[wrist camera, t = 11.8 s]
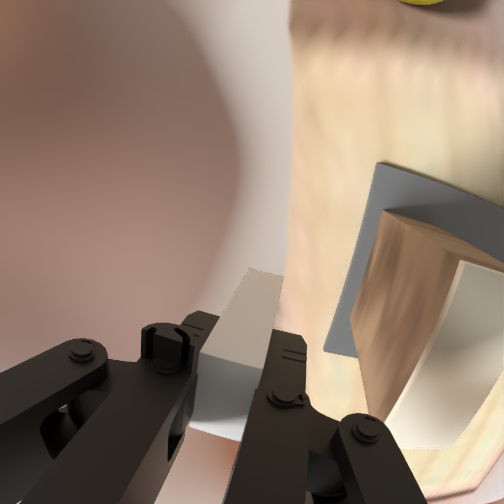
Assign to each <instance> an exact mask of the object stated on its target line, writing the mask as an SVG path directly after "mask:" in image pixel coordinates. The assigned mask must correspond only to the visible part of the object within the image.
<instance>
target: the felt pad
mask: <svg viewBox="0 0 504 504" xmlns="http://www.w3.org/2000/svg"><path fill="white" fill-rule="evenodd" d="M382 210H385V211H388V212H392V213H395V214H399V215H402V216H406V217H409V218H413V219H416V220H419V221H422V222H426V223H429V224H432V225H435V226H437V227H439V228H441V229H443V230H445V231H446V232H448V233H450V234H452V235H454V236H456V237H458V238H460V239H461V240H463V241H465V242H467V243H469V244H470V245H472V246H474V247H476V248H478V249H479V250H481V251H483V252H485V253H486V254H488V255H490V256H492V257H493V258H495V259H497V260H498V261H500V262H502V263H503V264H504V208H502V207H499V206H497V205H495V204H492V203H490V202H488V201H485V200H483V199H480V198H478V197H475V196H473V195H470V194H468V193H465V192H463V191H460V190H457V189H455V188H452V187H449V186H447V185H444V184H441V183H438V182H436V181H433V180H430V179H427V178H424V177H421V176H418V175H415V174H412V173H409V172H406V171H403V170H400V169H396V168H393V167H390V166H387V165H383V164H380V163H376V166H375V171H374V175H373V180H372V184H371V189H370V193H369V197H368V201H367V205H366V209H365V213H364V217H363V221H362V225H361V229H360V232H359V236H358V240H357V243H356V247H355V250H354V254H353V257H352V261H351V264H350V268H349V271H348V274H347V278H346V281H345V284H344V287H343V291H342V294H341V297H340V300H339V303H338V306H337V309H336V312H335V315H334V318H333V321H332V324H331V327H330V330H329V333H328V336H327V338H326V341H325V344H324V347H323V350H324V352H329V353H334V354H339V355H344V356H349V357H354V358H358V355H357V351H356V346H355V341H354V337H353V332H352V328H351V324H350V319H349V318H350V315H351V313H352V310H353V307H354V304H355V301H356V298H357V295H358V292H359V289H360V286H361V283H362V279H363V276H364V273H365V270H366V266H367V263H368V260H369V256H370V253H371V250H372V246H373V243H374V239H375V235H376V232H377V228H378V224H379V220H380V217H381V213H382Z"/></svg>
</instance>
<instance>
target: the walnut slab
mask: <svg viewBox="0 0 504 504" xmlns="http://www.w3.org/2000/svg"><path fill="white" fill-rule="evenodd" d="M349 319H350V324H351V328H352V332H353V337H354V341H355V346H356V351H357V355H358V360H359V365H360V370H361V375H362V380H363V385H364V390H365V396H366V401H367V407H368V413H369V415H371V416H373V417H376V418H378V419H379V420H381V421H382V422H383V423H385V425H386V426H387V427H388V428H389V430H390V431H391V433H392V435H393V437H394V439H395V441H396V443H397V445H398V447H399V448H400V449H450V448H451V447H452V445H453V444H454V443H455V442H456V440H457V439H458V438H459V436H460V435H461V434H462V432H463V431H464V430H465V428H466V427H467V426H468V424H469V423H470V421H471V420H472V419H473V417H474V416H475V414H476V413H477V411H478V410H479V408H480V407H481V405H482V404H483V402H484V401H485V399H486V398H487V396H488V395H489V393H490V391H491V390H492V388H493V386H494V385H495V383H496V381H497V380H498V378H499V376H500V375H501V373H502V371H503V369H504V264H503V263H502V262H500V261H498V260H497V259H495V258H493V257H492V256H490V255H488V254H486V253H485V252H483V251H481V250H479V249H478V248H476V247H474V246H472V245H470V244H469V243H467V242H465V241H463V240H461V239H460V238H458V237H456V236H454V235H452V234H450V233H448V232H446V231H445V230H443V229H441V228H439V227H437V226H435V225H432V224H429V223H426V222H422V221H419V220H416V219H413V218H409V217H406V216H402V215H399V214H395V213H392V212H388V211H385V210H382V213H381V217H380V220H379V224H378V228H377V232H376V235H375V239H374V243H373V246H372V250H371V253H370V256H369V260H368V263H367V266H366V270H365V273H364V276H363V279H362V283H361V286H360V289H359V292H358V295H357V298H356V301H355V304H354V307H353V310H352V313H351V315H350V318H349Z"/></svg>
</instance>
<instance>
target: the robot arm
mask: <svg viewBox="0 0 504 504" xmlns="http://www.w3.org/2000/svg"><path fill="white" fill-rule="evenodd" d="M283 279H284V276H279V275H275V274H271V273H267V272H262V271H258V270H254V269H250V268H249V269H248V270H247V272H246V274H245V275H244V277H243V279H242V281H241V282H240V284H239V286H238V287H237V289H236V291H235V292H234V294H233V296H232V298H231V299H230V301H229V303H228V304H227V306H226V308H225V310H224V311H223V313H222V315H221V316H216V315H213V314H209V313H205V312H202V311H196V312H194V313H192V314H189V315H188V316H187V317H186V318H185V319H184V321H183V322H182V324H180V326H179V325H176V324H171V323H154V324H150V325H147V326H146V327H144V328H142V331H141V357H140V359H139V360H138V361H137V362H125V361H119V360H112V359H108V355H107V351H106V348H105V347H104V346H103V345H101V343H98V342H96V341H94V340H90V339H85V338H79V339H72V340H69V341H66V342H64V343H62V344H60V345H58V346H55V347H53V348H51V349H49V350H47V351H45V352H43V353H41V354H39V355H37V356H35V357H33V358H31V359H28V360H26V361H24V362H22V363H20V364H18V365H16V366H14V367H12V368H10V369H8V370H6V371H4V372H1V373H0V504H17V503H18V502H19V501H21V500H22V499H23V500H22V501H21V502H20V503H19V504H154V502H155V500H156V498H157V496H158V494H159V492H160V490H161V488H162V485H163V483H164V481H165V479H166V477H167V475H168V473H169V471H170V469H171V467H172V464H173V462H174V460H175V458H176V456H177V454H178V452H179V450H180V448H181V445H182V443H183V441H184V436H185V428H186V426H187V424H188V422H189V420H190V418H191V420H190V427H192V428H195V429H198V430H201V431H204V432H208V433H211V434H215V435H219V436H222V437H225V438H229V439H233V440H237V441H240V445H239V448H238V451H237V455H236V458H235V461H234V464H233V468H232V472H231V475H230V478H229V482H228V485H227V489H226V492H225V495H224V498H223V502H222V504H428V503H427V501H426V499H425V497H424V495H423V493H422V491H421V489H420V487H419V485H418V483H417V481H416V480H415V478H414V476H413V474H412V472H411V470H410V468H409V466H408V464H407V462H406V460H405V458H404V456H403V454H402V452H401V450H400V448H399V447H398V445H397V443H396V441H395V439H394V437H393V435H392V433H391V431H390V430H389V428H388V427H387V426H386V425H385V423H383V422H382V421H381V420H379V419H378V418H376V417H373V416H371V415H368V414H362V413H355V414H350V415H347V416H346V417H344V418H343V419H342V420H341V422H340V421H337V420H335V419H332V418H330V417H327V416H325V415H323V414H321V413H319V412H318V411H317V410H315V409H314V408H313V407H312V406H311V403H310V399H309V396H308V395H307V394H306V393H305V389H306V361H307V356H306V355H307V344H306V343H305V341H304V339H303V338H302V336H301V335H297V334H292V333H288V332H284V331H280V330H275V329H273V324H274V320H275V316H276V311H277V307H278V302H279V297H280V293H281V288H282V284H283ZM64 405H67V406H65V407H63V406H64ZM61 407H63V408H61ZM59 408H60V409H59Z"/></svg>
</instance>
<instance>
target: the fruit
mask: <svg viewBox="0 0 504 504" xmlns="http://www.w3.org/2000/svg"><path fill="white" fill-rule="evenodd" d="M398 1H400V2H404V3H409V4H415V5H429V4H435V3H438V2H441V1H443V0H398Z"/></svg>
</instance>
